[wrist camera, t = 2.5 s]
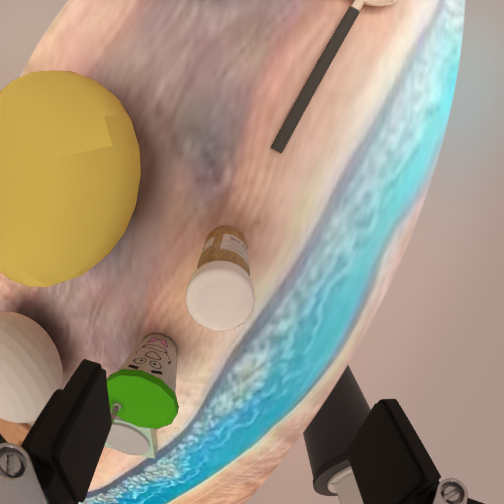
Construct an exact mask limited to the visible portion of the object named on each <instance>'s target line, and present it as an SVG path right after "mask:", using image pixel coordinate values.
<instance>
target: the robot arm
mask: <svg viewBox="0 0 504 504" xmlns="http://www.w3.org/2000/svg"><path fill="white" fill-rule="evenodd" d="M111 425H112V418H111V412H110V404H109V396H108V388H107V378H106V371H105V370H104V369H102V368H101V365H100V364H99V363H95V362H92V361H89V360H86V359H84V360H83V361H82V362H81V363H80V365H79V366H78V368H77V369H76V371H75V372H74V374H73V375H72V377H71V378H70V380H69V381H68V383H67V385H66V386H65V388H64V389H63V390H62V389H57V390H56V391H55V392H54V393H53V394H52V396H51V397H50V399H49V401H48V402H47V404H46V405H45V407H44V408H43V410H42V411H41V413H40V415H39V416H38V418H37V419H36V421H35V423H34V424H33V426H32V427H31V429H30V431H29V432H28V434H27V436H26V437H25V439H24V441H23V442H22V444H21V446H19V445H17V444H13V443H1V444H0V504H78V502H84V500H85V498H86V495H87V492H88V489H89V486H90V483H91V480H92V478H93V475H94V472H95V469H96V466H97V464H98V461H99V458H100V456H101V453H102V450H103V448H104V445H105V443H106V440H107V437H108V435H109V432H110V430H111ZM347 457H348V459H349V462H350V465H351V466H349V467H347V468H345V469H343V470H341V471H339V472H338V473H336V474H335V475H334V476H333V477H331V478H330V480H329V481H328V484H327V486H328V489H329V491H331V492H333V493H337V494H338V498H339V501H340V504H484V503H481V502H478V501H475V500H472V499H470V498H468V492H467V488H466V487H465V485H464V484H463V483H462V482H461V481H459V480H456V479H453V478H447V479H445V480H443V481H441V482H439V479H440V478H441V476H440V474H439V472H438V470H437V469H436V467H435V465H434V463H433V462H432V460H431V458H430V456H429V454H428V452H427V451H426V449H425V447H424V445H423V444H422V442H421V440H420V439H419V437H418V435H417V433H416V432H415V430H414V428H413V427H412V425H411V423H410V421H409V420H408V418H407V416H406V415H405V413H404V411H403V410H402V408H401V406H400V405H399V403H398V401H397V400H396V399H382V400H380V401H379V402H378V403H376V404H375V405H374V407H373V408H372V410H371V411H370V413H369V415H368V416H367V418H366V420H365V421H364V423H363V425H362V426H361V428H360V429H359V431H358V432H357V434H356V436H355V437H354V439H353V440H352V442H351V443H350V445H349V446H348V448H347Z"/></svg>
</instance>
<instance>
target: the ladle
mask: <svg viewBox="0 0 504 504" xmlns="http://www.w3.org/2000/svg"><path fill="white" fill-rule="evenodd" d="M395 1H397V0H354V2H353V3H352V5H351V6H350V7H349V9H348V10H347V12H346V14H345V15H344V17H343V19H342V21H341V22H340V24H339V26H338V27H337V29H336V31H335V33H334V34H333V36H332V38H331V39H330V41H329V43H328V45H327V46H326V48H325V50H324V52H323V53H322V55H321V57H320V59H319V60H318V62H317V64H316V66H315V67H314V69H313V71H312V73H311V75H310V76H309V78H308V80H307V82H306V84H305V85H304V87H303V89H302V91H301V93H300V94H299V96H298V98H297V100H296V102H295V104H294V105H293V107H292V109H291V111H290V113H289V115H288V116H287V118H286V120H285V122H284V124H283V126H282V127H281V129H280V131H279V133H278V135H277V137H276V139H275V141H274V142H273V144H272V146H271V148H272V149H274V150H276V151H278V152H280V153H282V152H283V150H284V148H285V146H286V144H287V142H288V141H289V139H290V137H291V135H292V133H293V131H294V129H295V127H296V126H297V124H298V122H299V120H300V118H301V116H302V115H303V113H304V111H305V109H306V107H307V105H308V104H309V102H310V100H311V98H312V96H313V94H314V93H315V91H316V89H317V87H318V85H319V84H320V82H321V80H322V78H323V76H324V74H325V73H326V71H327V69H328V67H329V65H330V64H331V62H332V60H333V58H334V57H335V55H336V53H337V51H338V49H339V48H340V46H341V44H342V42H343V41H344V39H345V37H346V35H347V33H348V32H349V30H350V28H351V26H352V25H353V23H354V21H355V19H356V18H357V16H358V14H359V11H360V9H361V8H362V6H363V4H365V5H370V6H376V7H377V6H384V5H389V4H391V3H393V2H395Z"/></svg>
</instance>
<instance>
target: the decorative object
mask: <svg viewBox="0 0 504 504" xmlns="http://www.w3.org/2000/svg"><path fill="white" fill-rule="evenodd" d="M62 383H63V370H62V363H61V359H60V356H59V353H58V350H57V348H56V346H55V344H54V342H53V341H52V339H51V338H50V336H49V335H48V333H47V332H46V331H45V330H44V329H43V328H42V327H41V326H40V325H39V324H38V323H36V322H35V321H34V320H32V319H30V318H28V317H26V316H24V315H22V314H19V313H15V312H0V418H2V419H4V420H7V421H10V422H14V423H29V422H33V421H36V419H37V418H38V416H39V415H40V413H41V411H42V410H43V408H44V407H45V405H46V404H47V402H48V401H49V399H50V397H51V396H52V394H53V393H54V392H55V391H56V390H57V389H62Z"/></svg>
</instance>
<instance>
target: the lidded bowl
mask: <svg viewBox="0 0 504 504" xmlns="http://www.w3.org/2000/svg"><path fill="white" fill-rule="evenodd" d="M34 423H35V421H33V422H29V423H14V422H10V421H7V420H4V419H2V418H0V434H1V435H2V436H3V437H4V439H5V440H6V441H7V442H8V443H13V444H17V445H19V446H21V444H22V442H23V441H24V439H25V437H26V436H27V434H28V432H29V431H30V429H31V427H32V426H33V424H34Z"/></svg>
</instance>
